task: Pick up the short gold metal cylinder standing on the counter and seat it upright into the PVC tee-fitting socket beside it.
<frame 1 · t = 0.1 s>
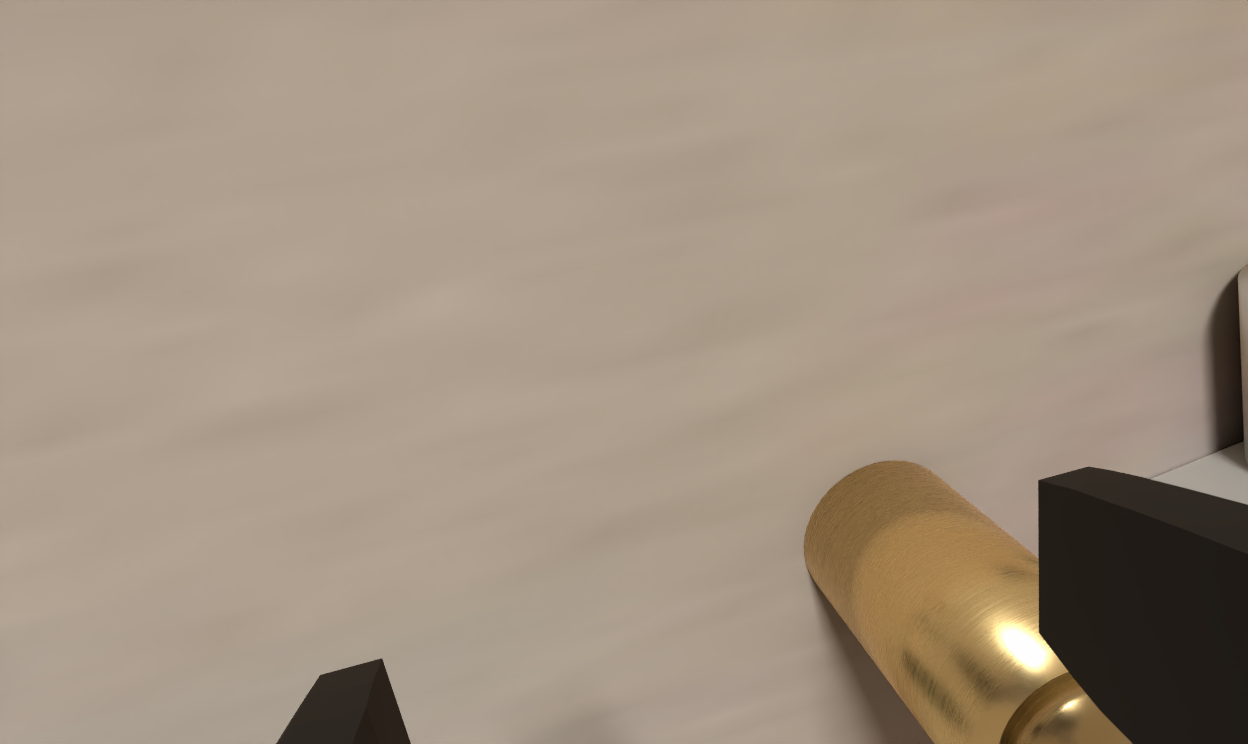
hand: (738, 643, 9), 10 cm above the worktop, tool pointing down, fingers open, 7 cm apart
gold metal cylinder: (879, 534, 21), on the worktop
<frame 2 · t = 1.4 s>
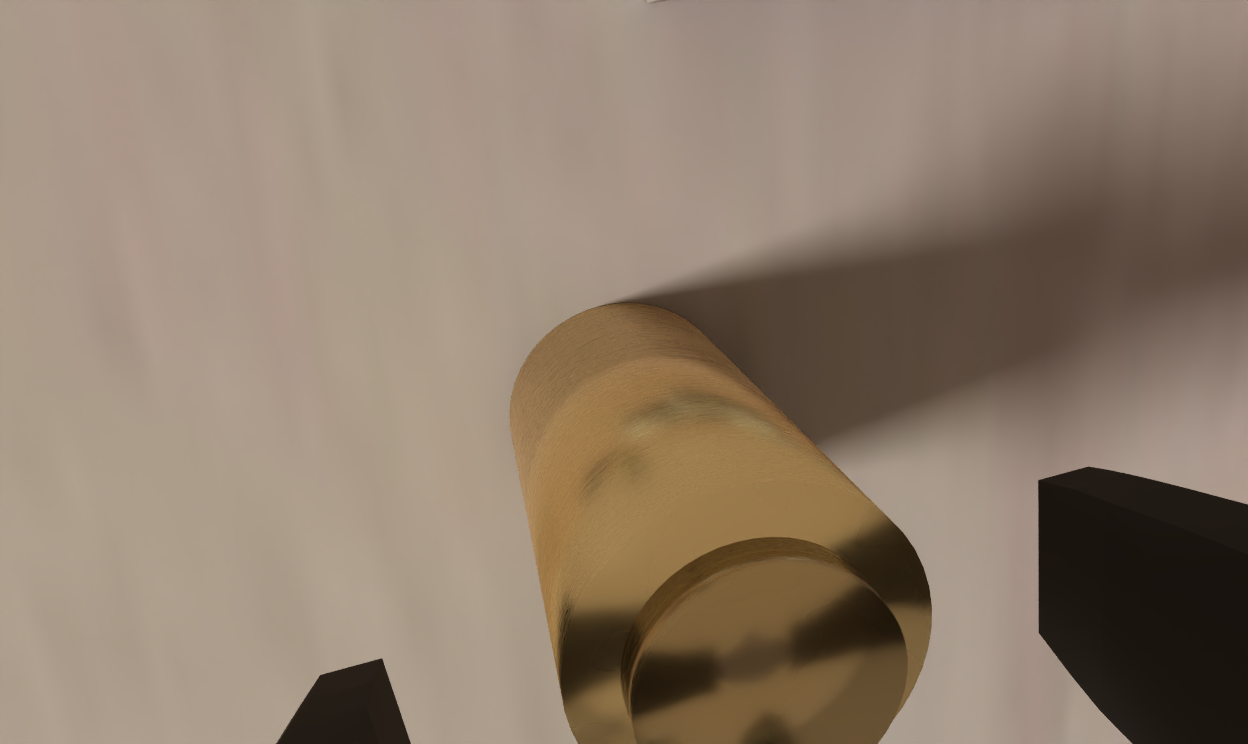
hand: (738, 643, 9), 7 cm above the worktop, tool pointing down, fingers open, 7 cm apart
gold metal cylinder: (622, 412, 15), on the worktop
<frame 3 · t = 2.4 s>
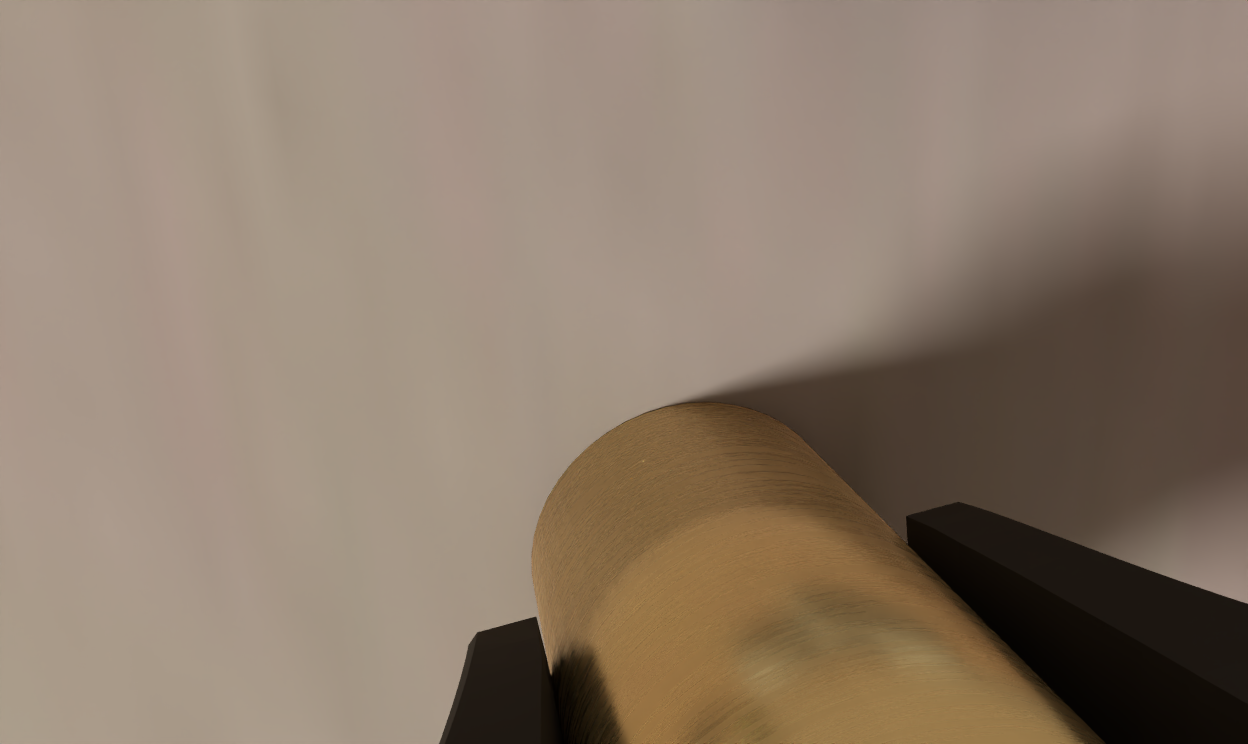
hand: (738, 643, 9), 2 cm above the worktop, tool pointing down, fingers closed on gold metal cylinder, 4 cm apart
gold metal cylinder: (689, 550, 11), on the worktop, touching gripper
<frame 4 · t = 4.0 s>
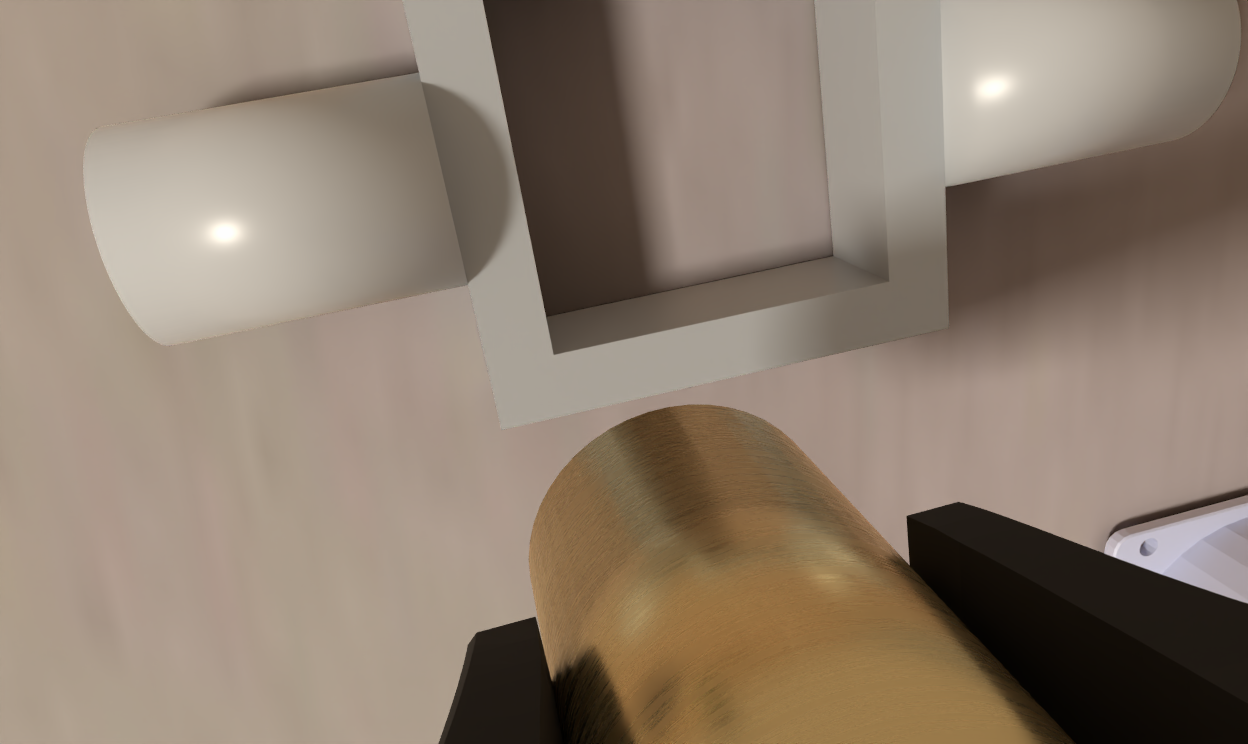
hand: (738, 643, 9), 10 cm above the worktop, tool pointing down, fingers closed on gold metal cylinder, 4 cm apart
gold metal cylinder: (681, 546, 11), point 8 cm above the worktop, touching gripper
fitting socket: (668, 129, 17), on the worktop
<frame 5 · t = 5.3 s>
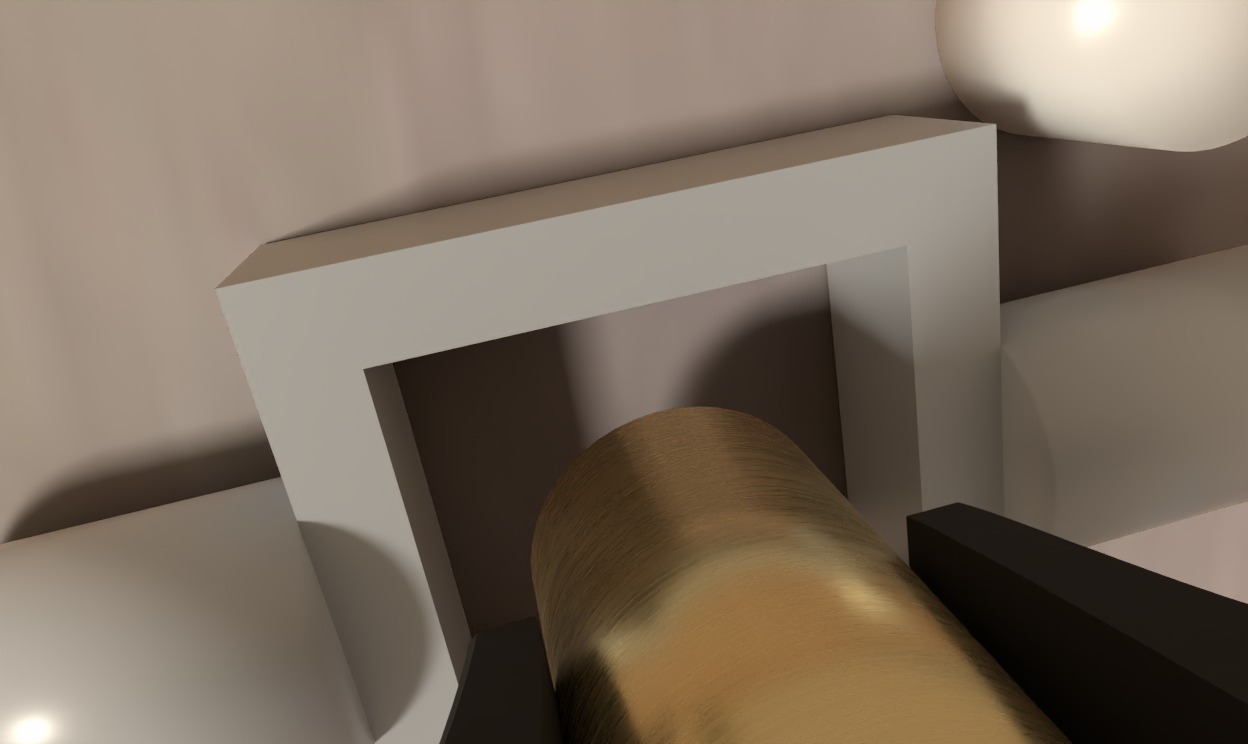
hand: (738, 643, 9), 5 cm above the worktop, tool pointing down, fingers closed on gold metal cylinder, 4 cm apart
pipe cap: (1048, 5, 12), on the worktop
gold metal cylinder: (683, 547, 11), point 2 cm above the worktop, touching gripper
fitting socket: (644, 463, 13), on the worktop
when the fingers open (4 cm above the worktop, at t = 5.9 s): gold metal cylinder drops 1 cm, resting in fitting socket.
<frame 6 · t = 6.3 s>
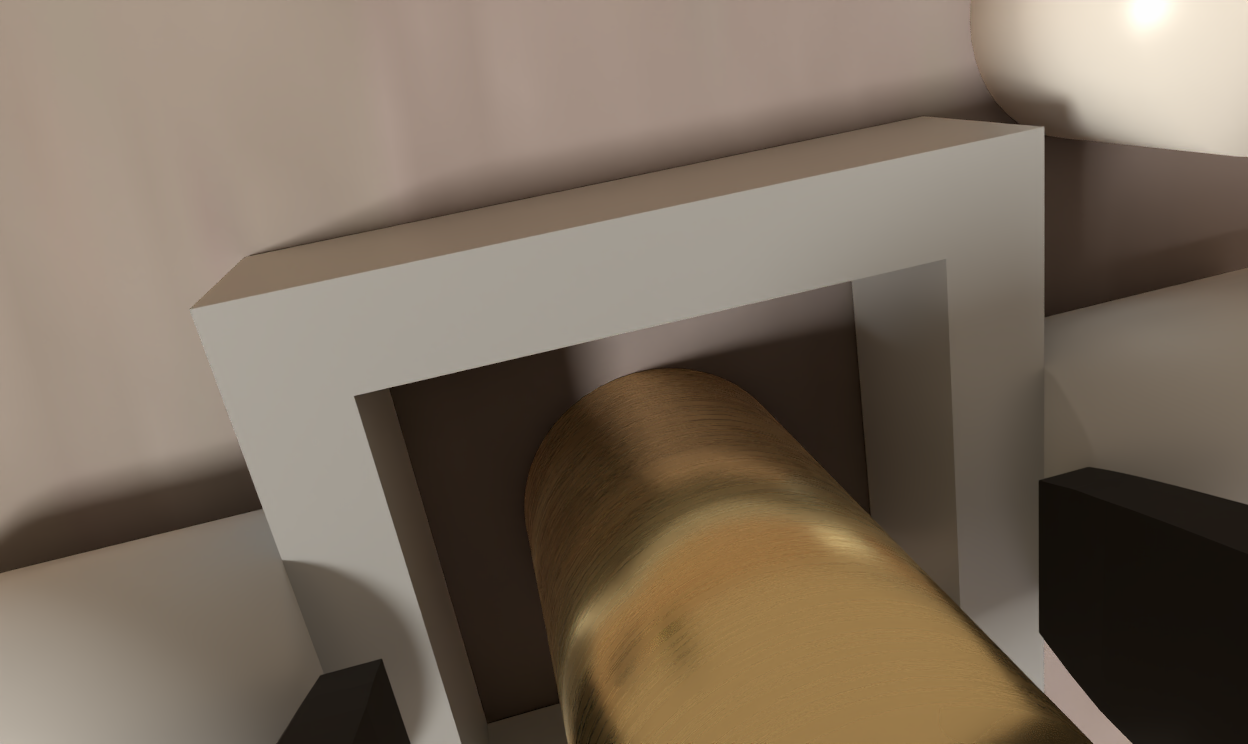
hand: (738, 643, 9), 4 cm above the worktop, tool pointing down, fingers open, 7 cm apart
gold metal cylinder: (660, 497, 13), resting in fitting socket
fitting socket: (656, 487, 13), on the worktop
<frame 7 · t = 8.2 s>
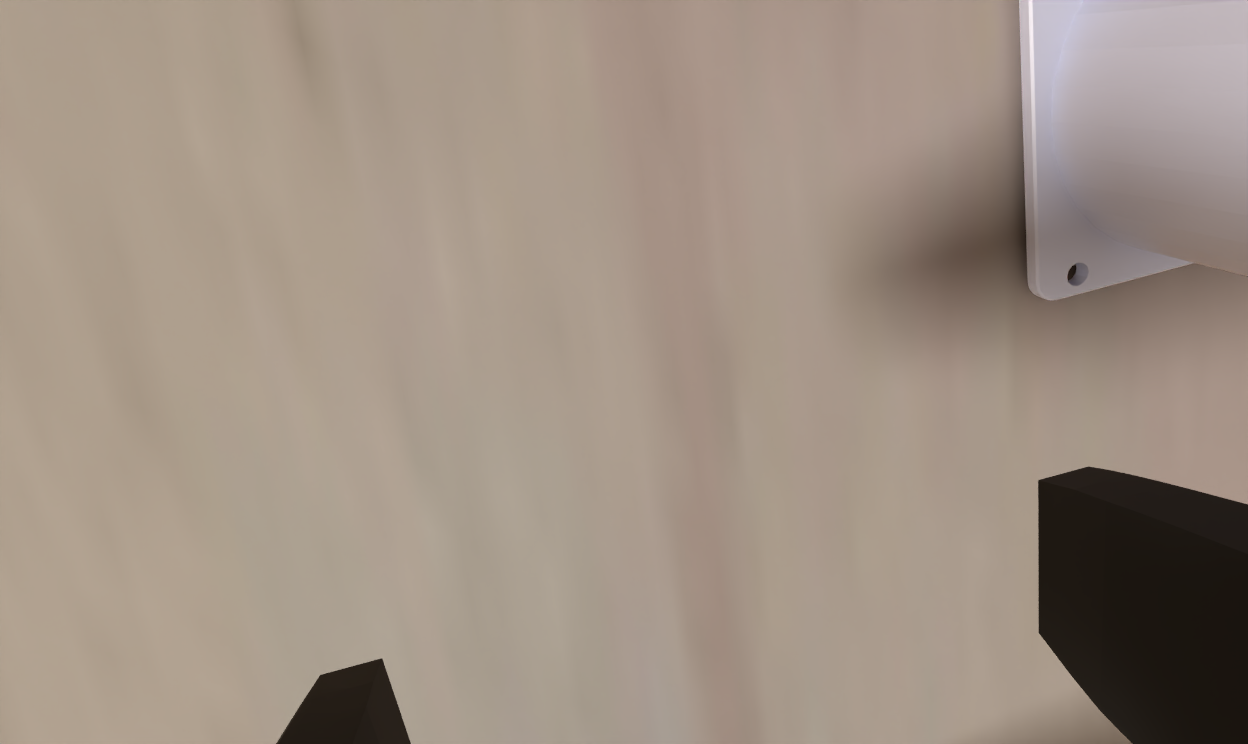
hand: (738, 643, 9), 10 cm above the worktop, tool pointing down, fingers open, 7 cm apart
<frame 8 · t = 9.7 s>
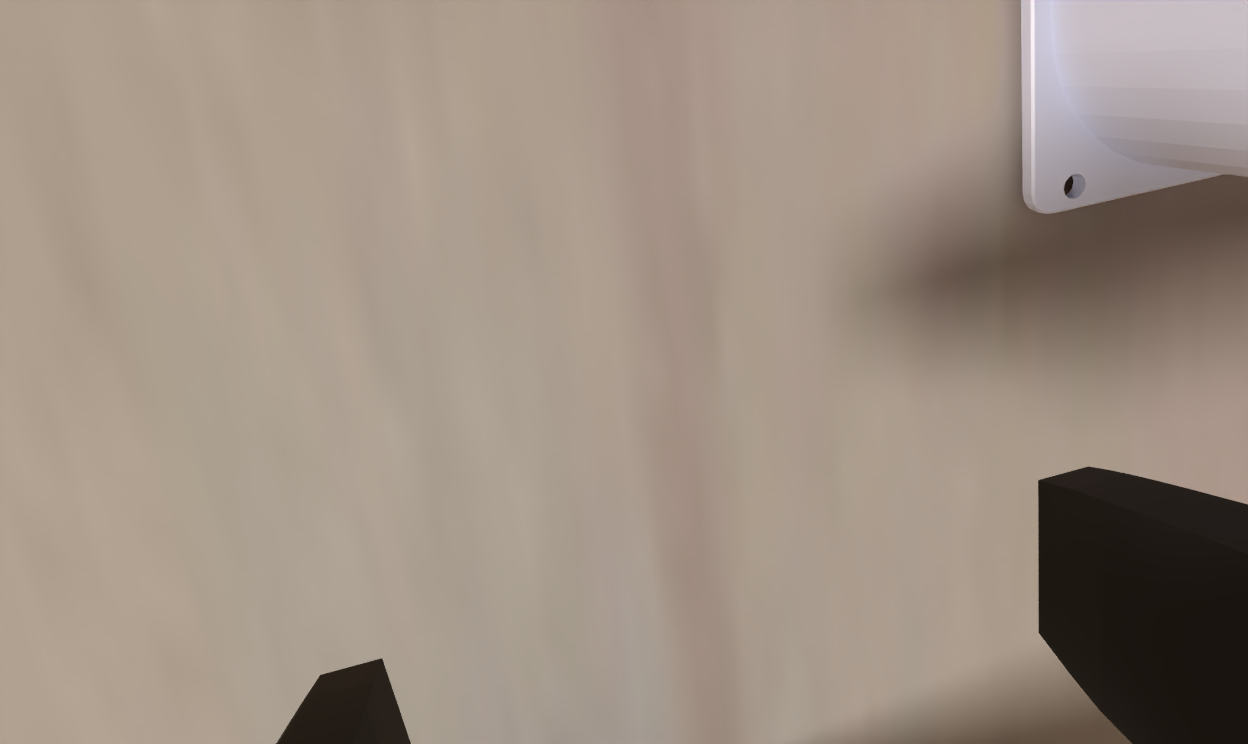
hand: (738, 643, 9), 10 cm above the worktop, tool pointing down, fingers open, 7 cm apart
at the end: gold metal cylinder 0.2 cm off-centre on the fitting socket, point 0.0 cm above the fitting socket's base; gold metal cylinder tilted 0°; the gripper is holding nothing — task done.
